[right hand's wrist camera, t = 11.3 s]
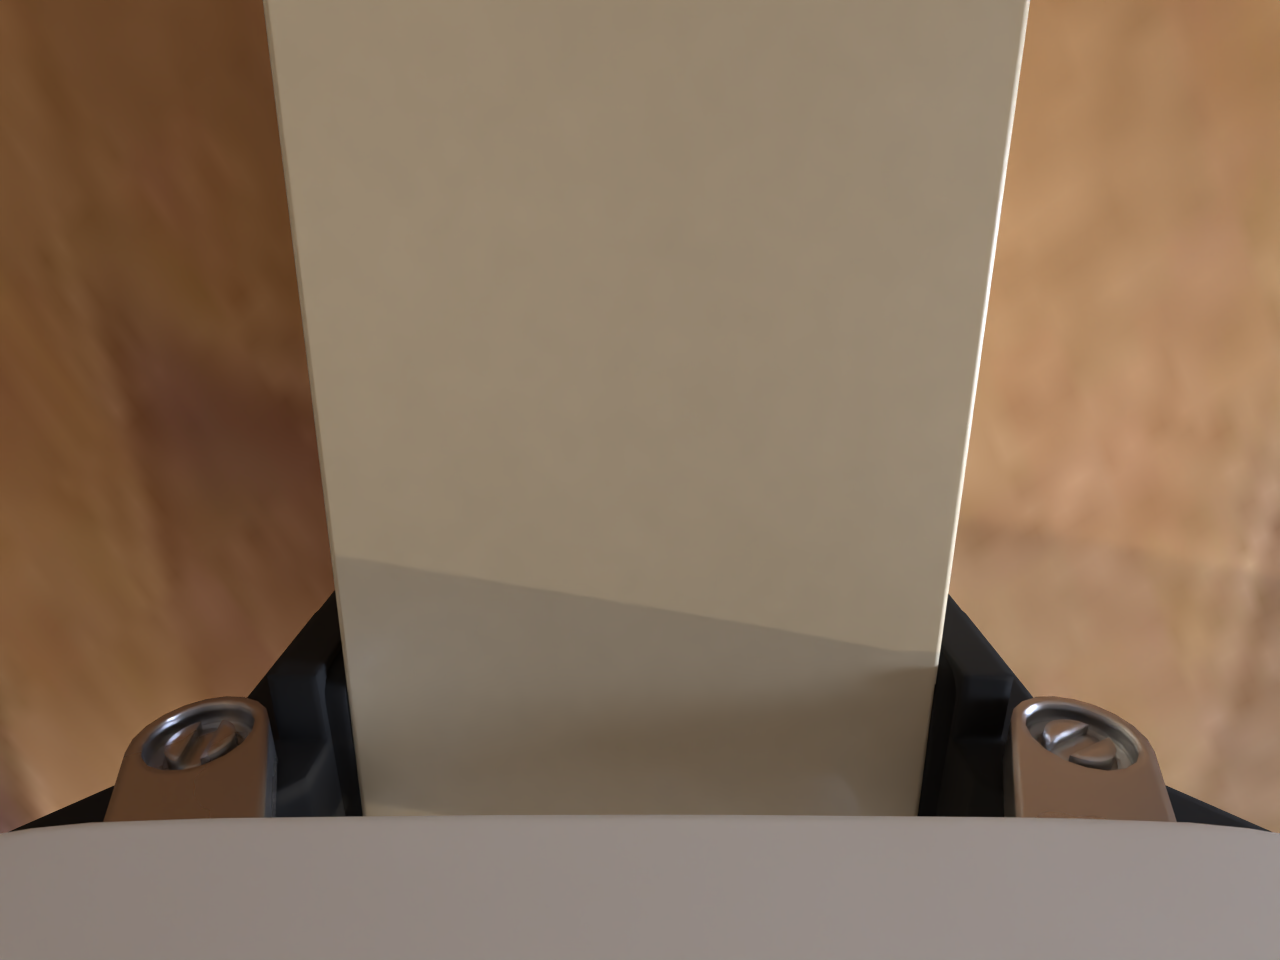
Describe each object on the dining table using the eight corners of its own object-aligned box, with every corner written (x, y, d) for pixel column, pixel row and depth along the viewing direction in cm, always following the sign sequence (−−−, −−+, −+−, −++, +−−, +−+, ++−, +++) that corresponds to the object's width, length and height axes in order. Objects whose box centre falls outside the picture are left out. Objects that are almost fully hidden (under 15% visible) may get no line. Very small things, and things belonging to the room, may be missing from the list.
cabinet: (435, -522, 11) (-29, -2292, 3) (858, -519, 11) (1352, -2266, 3) (502, 705, 17) (390, 1070, 9) (775, 706, 17) (885, 1072, 9)
